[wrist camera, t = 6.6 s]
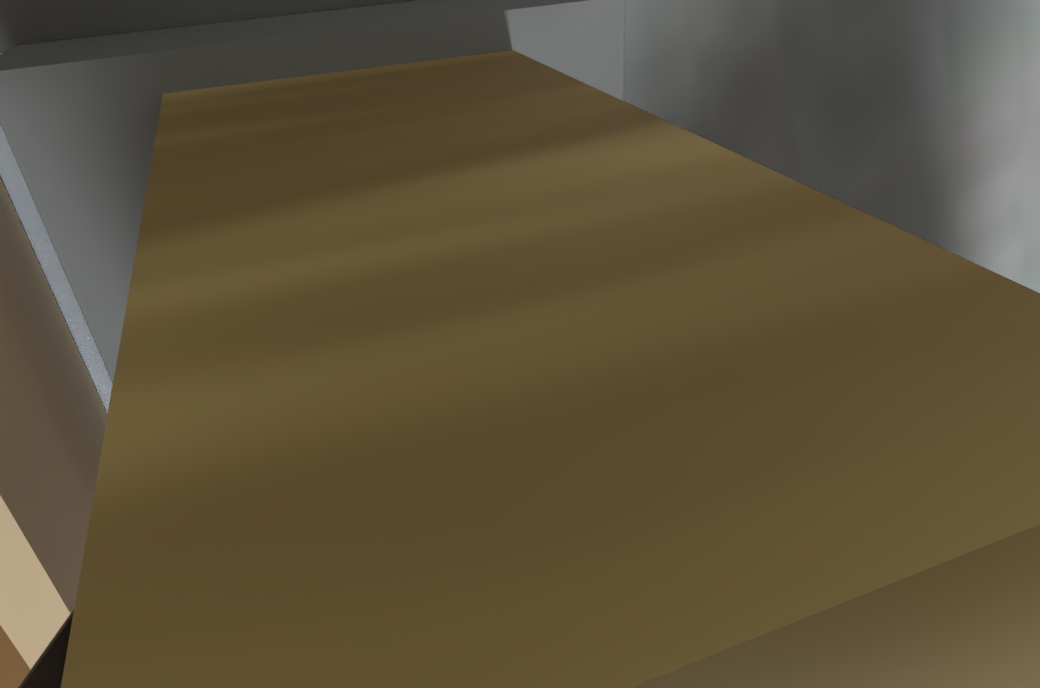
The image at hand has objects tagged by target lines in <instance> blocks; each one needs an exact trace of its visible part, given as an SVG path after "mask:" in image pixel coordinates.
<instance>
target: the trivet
mask: <svg viewBox="0 0 1040 688" xmlns="http://www.w3.org/2000/svg"><path fill="white" fill-rule="evenodd" d="M624 27H625V0H416V1H407V2H398V3H389V4H380V5H371V6H362V7H353V8H344V9H335V10H326V11H317V12H308V13H299V14H290V15H281V16H273V17H264V18H255V19H246V20H237V21H228V22H219V23H210V24H201V25H192V26H183V27H174V28H165V29H156V30H147V31H138V32H129V33H120V34H112V35H103V36H94V37H85V38H76V39H67V40H58V41H49V42H40V43H31V44H22V45H14V46H13V47H11V48H10V49H9V50H8V51H6V52H5V53H4V54H2V55H1V56H0V124H1V126H2V129H3V131H4V133H5V135H6V138H7V140H8V142H9V145H10V147H11V149H12V152H13V154H14V156H15V159H16V161H17V163H18V166H19V168H20V170H21V172H22V175H23V177H24V179H25V182H26V184H27V186H28V189H29V191H30V193H31V196H32V198H33V200H34V202H35V205H36V207H37V209H38V212H39V214H40V216H41V219H42V221H43V223H44V226H45V228H46V230H47V233H48V235H49V237H50V239H51V242H52V244H53V246H54V249H55V251H56V253H57V256H58V258H59V260H60V263H61V265H62V267H63V269H64V272H65V274H66V276H67V279H68V281H69V283H70V286H71V288H72V290H73V293H74V295H75V297H76V300H77V302H78V304H79V306H80V309H81V311H82V313H83V316H84V318H85V320H86V323H87V325H88V327H89V330H90V332H91V334H92V336H93V339H94V341H95V343H96V346H97V348H98V350H99V353H100V355H101V357H102V360H103V362H104V364H105V367H106V369H107V371H108V373H109V376H110V378H111V380H112V383H113V381H114V375H115V369H116V363H117V357H118V351H119V346H120V340H121V334H122V328H123V322H124V317H125V311H126V305H127V299H128V293H129V287H130V282H131V276H132V270H133V264H134V258H135V253H136V247H137V241H138V235H139V229H140V224H141V218H142V212H143V206H144V200H145V194H146V189H147V183H148V177H149V171H150V165H151V160H152V154H153V148H154V142H155V136H156V130H157V125H158V119H159V113H160V107H161V101H162V96H163V94H164V93H172V92H180V91H188V90H196V89H204V88H212V87H220V86H228V85H236V84H244V83H251V82H259V81H267V80H275V79H283V78H291V77H299V76H307V75H315V74H323V73H331V72H339V71H347V70H355V69H363V68H371V67H379V66H387V65H395V64H403V63H411V62H419V61H427V60H435V59H443V58H451V57H459V56H467V55H475V54H483V53H491V52H499V51H507V50H514V51H516V52H518V53H521V54H523V55H525V56H527V57H529V58H531V59H534V60H536V61H538V62H540V63H542V64H544V65H547V66H549V67H551V68H553V69H555V70H557V71H560V72H562V73H564V74H566V75H568V76H570V77H573V78H575V79H577V80H579V81H581V82H583V83H586V84H588V85H590V86H592V87H594V88H596V89H598V90H601V91H603V92H605V93H607V94H609V95H611V96H614V97H616V98H618V99H620V100H622V101H623V88H624Z"/></svg>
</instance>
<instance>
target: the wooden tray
mask: <svg viewBox="0 0 1040 688" xmlns="http://www.w3.org/2000/svg"><path fill="white" fill-rule="evenodd" d="M106 421H107V413H106V411H105V408H104V406H103V404H102V402H101V400H100V397H99V395H98V393H97V391H96V388H95V386H94V384H93V382H92V380H91V377H90V375H89V373H88V371H87V368H86V366H85V364H84V362H83V360H82V357H81V355H80V353H79V351H78V348H77V346H76V344H75V342H74V340H73V337H72V335H71V333H70V331H69V328H68V326H67V324H66V322H65V320H64V317H63V315H62V313H61V311H60V308H59V306H58V304H57V302H56V300H55V297H54V295H53V293H52V291H51V288H50V286H49V284H48V282H47V280H46V277H45V275H44V273H43V271H42V268H41V266H40V264H39V262H38V260H37V257H36V255H35V253H34V251H33V248H32V246H31V244H30V242H29V240H28V237H27V235H26V233H25V231H24V228H23V226H22V224H21V222H20V220H19V217H18V215H17V213H16V211H15V208H14V206H13V204H12V202H11V200H10V197H9V195H8V193H7V191H6V188H5V186H4V184H3V182H2V180H1V177H0V688H18V687H19V685H20V684H21V683H22V681H23V680H24V678H25V677H26V676H27V674H28V673H29V671H30V670H31V668H32V667H33V666H34V664H35V663H36V661H37V660H38V659H39V657H40V656H41V654H42V653H43V652H44V650H45V649H46V647H47V646H48V644H49V643H50V642H51V640H52V639H53V637H54V636H55V635H56V633H57V632H58V630H59V629H60V627H61V626H62V625H63V623H64V622H65V620H66V619H67V618H68V616H69V615H70V613H71V612H72V610H73V609H74V607H75V601H76V596H77V590H78V584H79V578H80V572H81V567H82V561H83V555H84V549H85V543H86V537H87V532H88V526H89V520H90V514H91V508H92V503H93V497H94V491H95V485H96V479H97V474H98V468H99V462H100V456H101V450H102V444H103V439H104V433H105V427H106Z"/></svg>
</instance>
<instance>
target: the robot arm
mask: <svg viewBox="0 0 1040 688" xmlns="http://www.w3.org/2000/svg"><path fill="white" fill-rule="evenodd" d="M73 613H74V609H73V610H72V612H71V613H70V615H69V616H68V618H67V619H66V620H65V622H64V623H63V625H62V626H61V627H60V629H59V630H58V632H57V633H56V635H55V636H54V637H53V639H52V640H51V642H50V643H49V644H48V646H47V647H46V649H45V650H44V652H43V653H42V654H41V656H40V657H39V659H38V660H37V661H36V663H35V664H34V666H33V667H32V668H31V670H30V671H29V673H28V674H27V676H26V677H25V678H24V680H23V681H22V683H21V684H20V685H19V687H18V688H61V683H62V677H63V671H64V665H65V660H66V654H67V648H68V642H69V636H70V631H71V625H72V619H73Z"/></svg>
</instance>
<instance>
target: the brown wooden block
mask: <svg viewBox="0 0 1040 688" xmlns="http://www.w3.org/2000/svg"><path fill="white" fill-rule="evenodd" d="M61 688H1040V293H1038V292H1036V291H1033V290H1031V289H1029V288H1027V287H1025V286H1023V285H1020V284H1018V283H1016V282H1014V281H1012V280H1010V279H1008V278H1005V277H1003V276H1001V275H999V274H997V273H995V272H992V271H990V270H988V269H986V268H984V267H982V266H979V265H977V264H975V263H973V262H971V261H969V260H966V259H964V258H962V257H960V256H958V255H956V254H953V253H951V252H949V251H947V250H945V249H943V248H940V247H938V246H936V245H934V244H932V243H930V242H927V241H925V240H923V239H921V238H919V237H917V236H914V235H912V234H910V233H908V232H906V231H904V230H901V229H899V228H897V227H895V226H893V225H891V224H888V223H886V222H884V221H882V220H880V219H878V218H875V217H873V216H871V215H869V214H867V213H865V212H863V211H860V210H858V209H856V208H854V207H852V206H850V205H847V204H845V203H843V202H841V201H839V200H837V199H834V198H832V197H830V196H828V195H826V194H824V193H821V192H819V191H817V190H815V189H813V188H811V187H808V186H806V185H804V184H802V183H800V182H798V181H795V180H793V179H791V178H789V177H787V176H785V175H782V174H780V173H778V172H776V171H774V170H772V169H769V168H767V167H765V166H763V165H761V164H759V163H756V162H754V161H752V160H750V159H748V158H746V157H743V156H741V155H739V154H737V153H735V152H733V151H731V150H728V149H726V148H724V147H722V146H720V145H718V144H715V143H713V142H711V141H709V140H707V139H705V138H702V137H700V136H698V135H696V134H694V133H692V132H689V131H687V130H685V129H683V128H681V127H679V126H676V125H674V124H672V123H670V122H668V121H666V120H663V119H661V118H659V117H657V116H655V115H653V114H650V113H648V112H646V111H644V110H642V109H640V108H637V107H635V106H633V105H631V104H629V103H627V102H624V101H622V100H620V99H618V98H616V97H614V96H611V95H609V94H607V93H605V92H603V91H601V90H598V89H596V88H594V87H592V86H590V85H588V84H586V83H583V82H581V81H579V80H577V79H575V78H573V77H570V76H568V75H566V74H564V73H562V72H560V71H557V70H555V69H553V68H551V67H549V66H547V65H544V64H542V63H540V62H538V61H536V60H534V59H531V58H529V57H527V56H525V55H523V54H521V53H518V52H516V51H514V50H507V51H499V52H491V53H483V54H475V55H467V56H459V57H451V58H443V59H435V60H427V61H419V62H411V63H403V64H395V65H387V66H379V67H371V68H363V69H355V70H347V71H339V72H331V73H323V74H315V75H307V76H299V77H291V78H283V79H275V80H267V81H259V82H251V83H244V84H236V85H228V86H220V87H212V88H204V89H196V90H188V91H180V92H172V93H164V94H163V96H162V101H161V107H160V113H159V119H158V125H157V130H156V136H155V142H154V148H153V154H152V160H151V165H150V171H149V177H148V183H147V189H146V194H145V200H144V206H143V212H142V218H141V224H140V229H139V235H138V241H137V247H136V253H135V258H134V264H133V270H132V276H131V282H130V287H129V293H128V299H127V305H126V311H125V317H124V322H123V328H122V334H121V340H120V346H119V351H118V357H117V363H116V369H115V375H114V381H113V386H112V392H111V398H110V404H109V410H108V415H107V421H106V427H105V433H104V439H103V444H102V450H101V456H100V462H99V468H98V474H97V479H96V485H95V491H94V497H93V503H92V508H91V514H90V520H89V526H88V532H87V537H86V543H85V549H84V555H83V561H82V567H81V572H80V578H79V584H78V590H77V596H76V601H75V607H74V613H73V619H72V625H71V631H70V636H69V642H68V648H67V654H66V660H65V665H64V671H63V677H62V683H61Z"/></svg>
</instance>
